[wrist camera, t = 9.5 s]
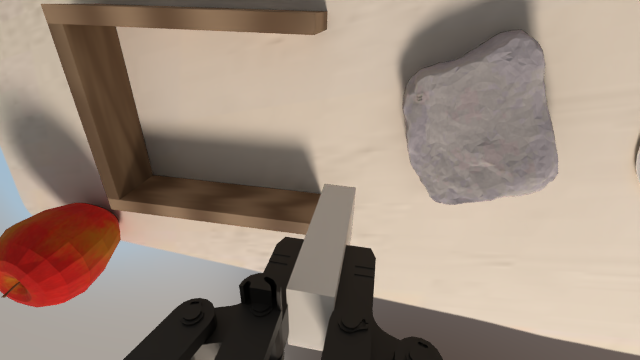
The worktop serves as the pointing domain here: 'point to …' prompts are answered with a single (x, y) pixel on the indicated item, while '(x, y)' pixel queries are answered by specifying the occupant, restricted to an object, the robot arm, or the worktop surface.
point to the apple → (56, 253)
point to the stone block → (482, 123)
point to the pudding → (638, 165)
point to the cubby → (123, 123)
